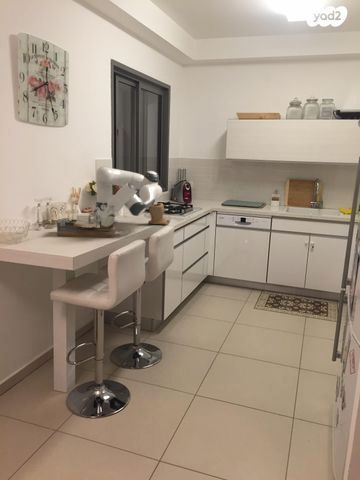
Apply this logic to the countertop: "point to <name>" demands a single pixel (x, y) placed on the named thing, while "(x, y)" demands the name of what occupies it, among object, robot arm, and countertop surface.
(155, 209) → the stone cup
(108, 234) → the loading dock
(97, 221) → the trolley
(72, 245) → the countertop surface
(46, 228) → the countertop surface
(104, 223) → the food container
